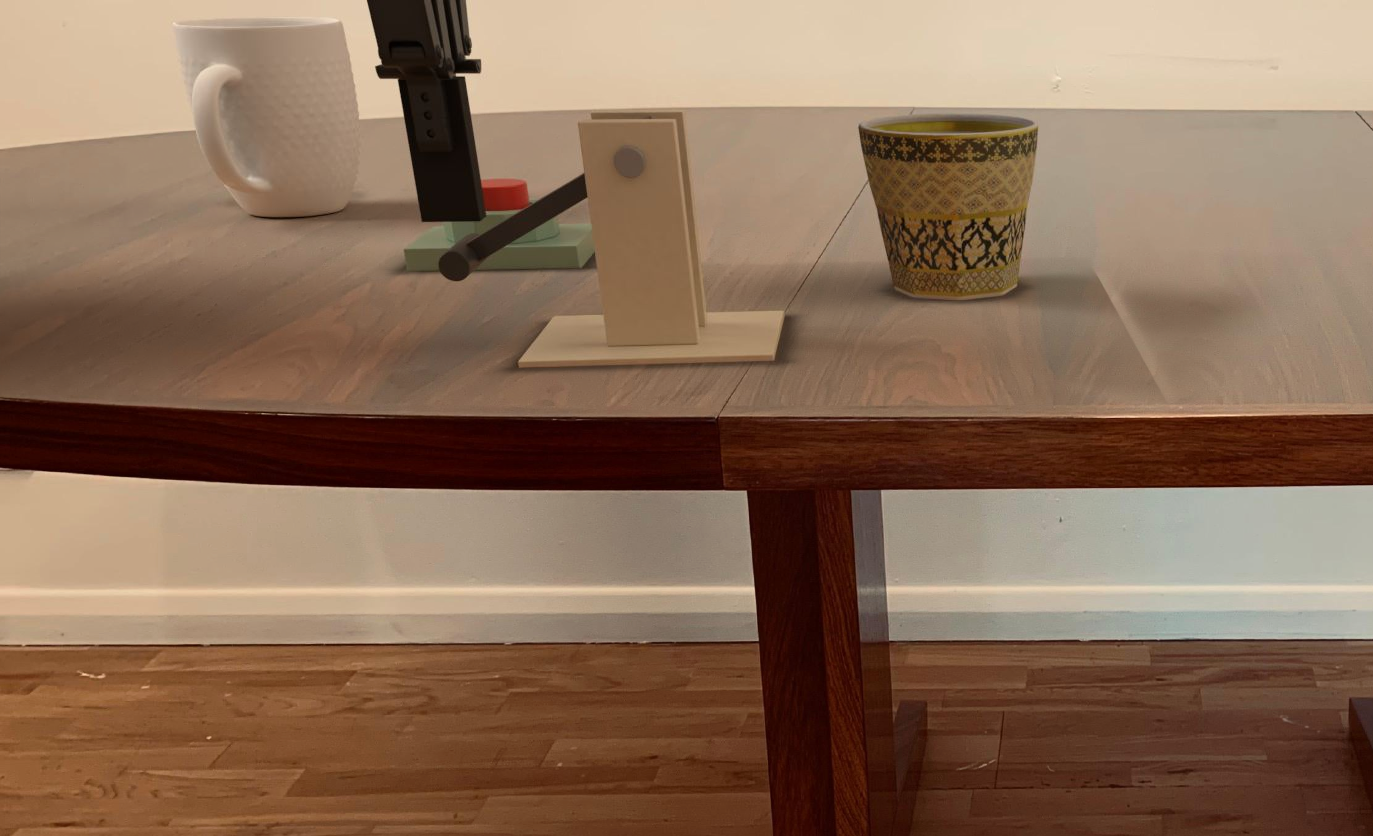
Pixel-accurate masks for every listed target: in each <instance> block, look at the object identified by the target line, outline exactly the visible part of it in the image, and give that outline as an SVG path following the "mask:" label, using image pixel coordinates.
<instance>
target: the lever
mask: <svg viewBox="0 0 1373 836" xmlns="http://www.w3.org/2000/svg"><path fill="white" fill-rule="evenodd" d="M643 119H652V118H651V116H647V117H645V118H643ZM538 199H539V200H537V201H535V202H534V203H532V204H530V205H529V206H527V207H525V208H524V209H522V210H520V211H519V212H517V213H515V214H514V215H512V216H510V217H509V218H507V219H505V220H504V221H502V222H500V223H498V224H497V225H495V226H493V227H492V228H490V229H488V230H487V231H485V232H483V233H482V234H476V233H471V234H468V235H466V236H465V237H463V238H462V239H461V240H460V241H458V242H457V243H456V244H455V245H453V246H452V247H451V248H450V249H448V250H447V251H446V252H445V253H444V254H442V255H441V257H440V258H439V261H438V267H439V270H438V271H439V272H440V274H441V276H443V277H444V278H445V279H447V280H449V281H451V282H461V281H464V280H466V278H468V277H469V276H470V275H471V274H472V273H474V271H475V269H476V268H477V267H478V266H479V265H481V264H482V263H483V262H484V261H485V260H486V259H487V258H488V257H489V256H490V255H492V254H493V253H495V252H497V251H498V250H500V249H502V248H503V247H505V246H507V245H508V244H510V243H512V242H514V241H515V240H517V239H519V238H520V237H522V236H524V235H525V234H527V233H529V232H530V231H532V230H534V229H535V228H537V227H539V226H540V225H542V224H544V223H545V222H547V221H549V220H551V219H552V218H554V217H556V216H557V215H558V216H559V215H561V214H562V213H564V212H566V211H567V210H569V209H571V208H573V207H574V206H576V205H578V204H579V203H581V202H583V201H585V200H586V199H588V196H587V189H586V181H585V174H584V172H582V173H581V174H579V175H577V176H576V177H574V178H572V179H571V180H569V181H568V182H566V183H564V184H562V185H560V186H559V187H557V188H556V189H554V190H552V191H551V192H549V193H547V194H546V195H544V196H543V197H540V198H538Z"/></svg>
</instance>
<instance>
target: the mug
mask: <svg viewBox="0 0 1373 836" xmlns="http://www.w3.org/2000/svg"><path fill="white" fill-rule="evenodd" d="M343 24H344V23H343V22H342V20H341V19H338V18H334V17H320V16H239V17H235V16H234V17H213V18H199V19H198V18H197V19H188V20H187V19H185V20H178V21H174V22H173V23H172V32H173V36H174V42H175V46H176V51H177V59H178V62H179V64H180V71H181V73H182V80H183V83H184V86H185V91H186V95H187V100H188V103H189V105H190V111H191V113H192V120H193V126H194V129H195V134H196V138H197V141H198V145H199V147H200V150H201V153H202V154H203V157H204V159H205V161H206V163H207V164H208V166H209V168H210V169H211V171H212V173H213V174H214V175H215V176H216V178H217V179H218V180H219V181H220V182H221V183H222V184H223V186H224V188H225V189H226V190H227V191H228V192H229V194H230V196H232V198H233V199H234V200H235V202H236V203H237V204H238V205H239V207H241V209H242V210H244V211H245V212H246V213H247V214H248V215H251V216H254V217H263V218H264V217H265V218H302V217H303V218H304V217H313V216H322V215H328V214H333V213H338V212H341V211H342V210H344V209H345V208H346V206H347V205H348V203H349V201H350V199H351V197H352V194H353V191H354V187H355V184H356V181H357V175H358V173H359V165H360V155H361V151H360V149H361V148H360V147H361V130H360V127H361V123H360V119H359V118H360V112H359V104H358V101H357V100H358V99H357V96H358V95H357V91H356V84H355V81H354V79H355V78H354V73H353V70H352V69H353V68H352V62H351V54H350V51H349V48H348V44H347V39H346V33H345V29H344V25H343Z"/></svg>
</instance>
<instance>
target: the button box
mask: <svg viewBox="0 0 1373 836" xmlns="http://www.w3.org/2000/svg"><path fill="white" fill-rule="evenodd" d="M539 199H540V198H538V197H537V198H534V197H529V202H530V204H532V203H534V202H535V201H537V200H539ZM520 210H522V209H518V210H508V211H486V217H485V218H484V219H482V220H481V221H472V222H442V223H443V225H434V226H433V227H431V228H430V229H429V230H428V231H426V232H425V233H423V234H421V236H419V237H418V238H416V239H415V240H413V242H411V243H410V244H408V245H407V246H405V247H404V248H403V254H404V260H405V265H406V270H407V272H425V271H427V272H430V271H440V270H439V267H438V261H439V258H440V257H441V255H442V254H444V253H445V252H446V251H447V250H448V249H450V248H451V247H452V246H453V245H455V244H456V243H457V242H458V241H460V240H461V239H462V238H463V237H465V236H466V235H468V234H471V233H476V234H482V233H483V232H485V231H487V230H488V229H490V228H492V227H493V226H495V225H497V224H498V223H500V222H502V221H504V220H505V219H507V218H509V217H510V216H512V215H514V214H515V213H517V212H519V211H520ZM594 254H595V249H594V242H593V234H592V227H591V222H588V223H584V222H583V223H560V222H559V215H557V216H556V217H554V218H552V219H551V220H549V221H547V222H545V223H544V224H542V225H540V226H539V227H537V228H535V229H534V230H532V231H530V232H529V233H527V234H525V235H524V236H522V237H520V238H519V239H517V240H515V241H514V242H512V243H510V244H508V245H507V246H505V247H503V248H502V249H500V250H498V251H497V252H495V253H493V254H492V255H490V256H489V257H488V258H487V259H486V260H485V261H484V262H483V263H482V264H481V265H479V266H478V267H477V268H476V269H475V270H476V271H478V270H479V271H480V270H485V271H487V270H527V269H529V270H530V269H531V270H532V269H535V270H537V269H576V268H577V269H579V268H580V269H581V268H583V266H584V265H586V263H587V262H588V260H590V258H591V257H592V256H593V255H594ZM475 270H474V271H475Z"/></svg>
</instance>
